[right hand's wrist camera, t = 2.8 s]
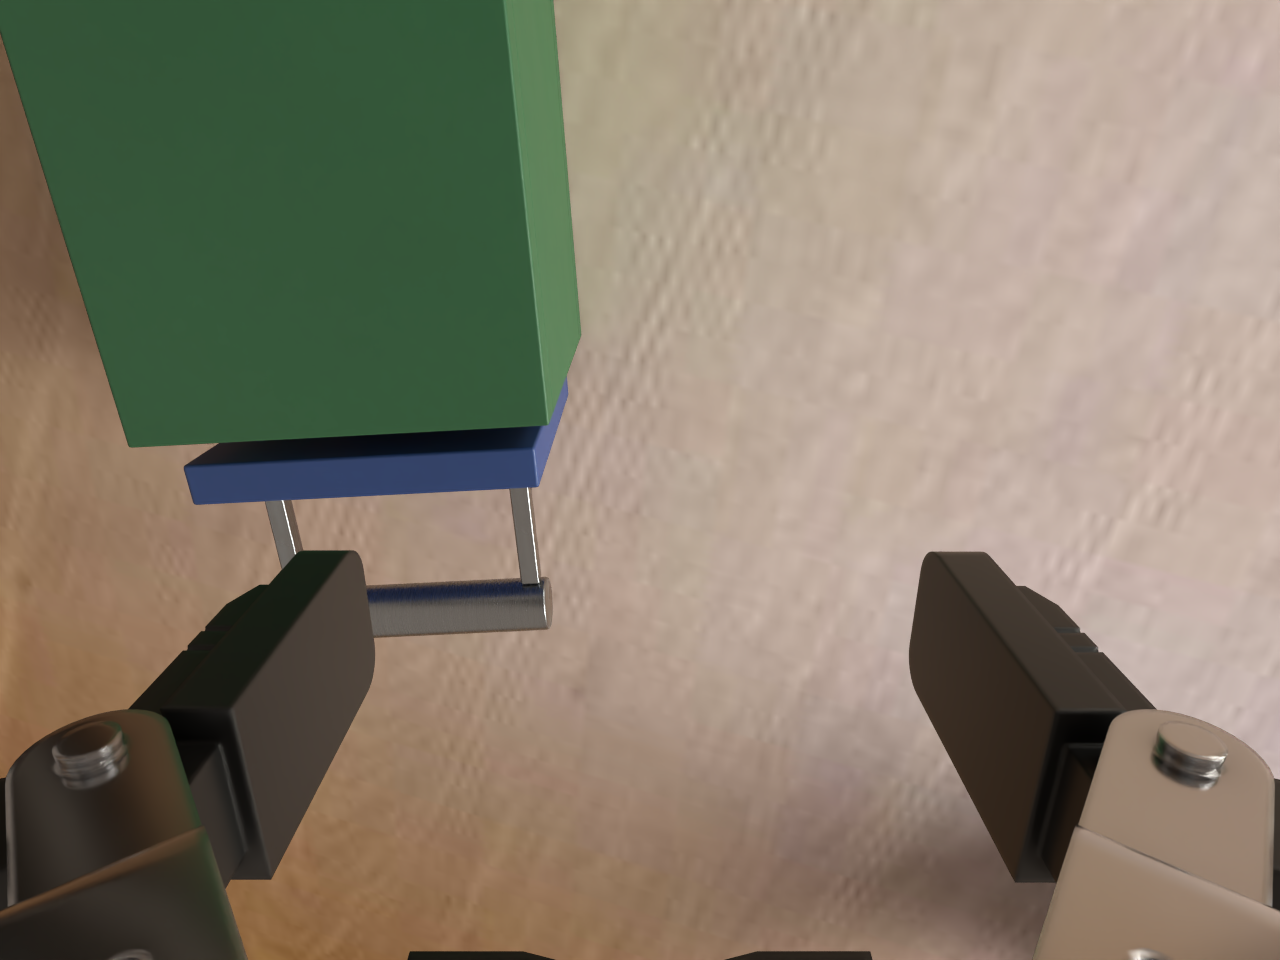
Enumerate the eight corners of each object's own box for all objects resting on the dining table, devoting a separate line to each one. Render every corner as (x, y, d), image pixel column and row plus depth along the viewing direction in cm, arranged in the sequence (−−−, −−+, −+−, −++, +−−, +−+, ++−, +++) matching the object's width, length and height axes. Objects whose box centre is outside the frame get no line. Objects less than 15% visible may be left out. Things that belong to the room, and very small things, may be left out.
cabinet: (581, 336, 31) (549, 426, 20) (304, 351, 31) (127, 448, 20) (525, -328, 24) (429, -740, 13) (164, -301, 24) (-225, -683, 13)
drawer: (581, 536, 33) (559, 671, 24) (350, 548, 33) (244, 686, 24) (514, -199, 24) (439, -413, 15) (196, -177, 24) (-61, -374, 15)
